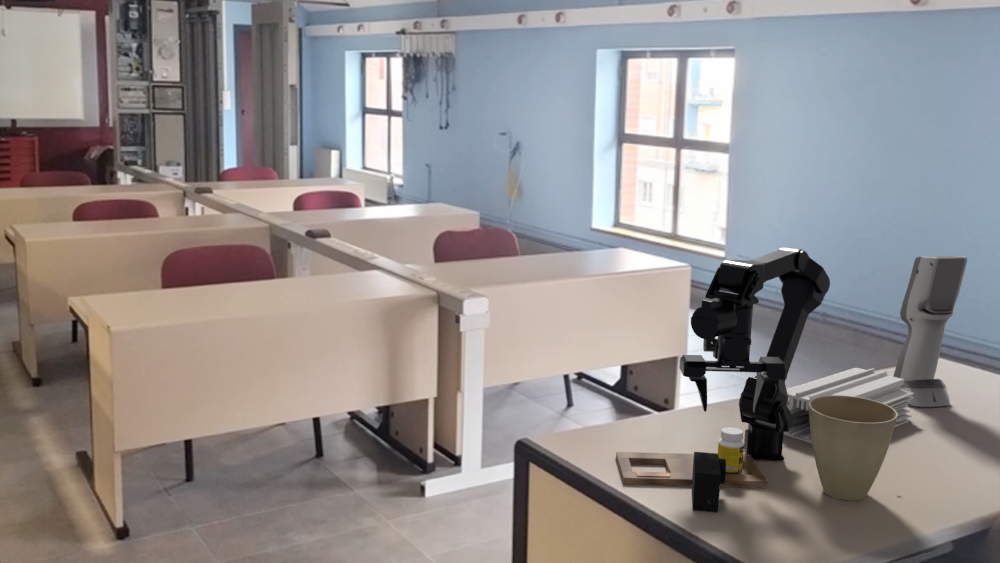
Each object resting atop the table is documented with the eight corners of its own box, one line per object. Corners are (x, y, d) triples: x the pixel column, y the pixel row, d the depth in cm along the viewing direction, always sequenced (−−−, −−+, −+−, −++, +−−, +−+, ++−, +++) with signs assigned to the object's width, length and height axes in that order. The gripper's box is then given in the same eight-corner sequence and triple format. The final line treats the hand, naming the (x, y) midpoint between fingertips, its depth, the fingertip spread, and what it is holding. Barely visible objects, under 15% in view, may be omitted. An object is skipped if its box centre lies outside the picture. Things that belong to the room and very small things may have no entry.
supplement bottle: (742, 479, 186) (745, 436, 184) (716, 476, 186) (719, 433, 185) (741, 469, 190) (744, 427, 189) (716, 467, 191) (719, 425, 189)
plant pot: (784, 482, 185) (791, 399, 181) (849, 473, 190) (857, 392, 187) (838, 515, 171) (846, 425, 168) (907, 504, 176) (917, 417, 173)
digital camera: (725, 514, 170) (728, 475, 169) (692, 511, 171) (695, 472, 170) (722, 490, 181) (725, 453, 179) (691, 487, 181) (694, 450, 180)
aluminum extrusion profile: (911, 422, 221) (915, 378, 219) (836, 452, 201) (840, 405, 199) (851, 405, 232) (855, 363, 230) (774, 433, 212) (778, 387, 210)
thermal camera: (912, 409, 229) (929, 257, 222) (879, 392, 241) (894, 248, 235) (957, 406, 232) (975, 257, 225) (922, 390, 244) (938, 247, 237)
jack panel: (750, 461, 195) (750, 454, 194) (767, 487, 182) (767, 480, 182) (615, 457, 195) (616, 450, 194) (623, 484, 182) (623, 476, 182)
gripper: (776, 320, 191) (770, 399, 194) (677, 318, 191) (673, 396, 194) (791, 335, 180) (784, 418, 183) (686, 332, 180) (681, 415, 184)
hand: (729, 411), depth 186 cm, fingers open, 9 cm apart
